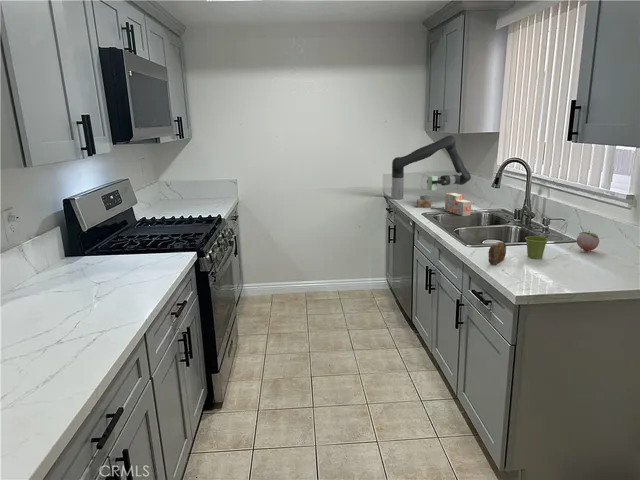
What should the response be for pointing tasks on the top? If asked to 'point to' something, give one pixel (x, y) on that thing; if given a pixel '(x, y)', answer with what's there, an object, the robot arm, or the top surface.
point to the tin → (497, 253)
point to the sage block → (429, 184)
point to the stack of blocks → (457, 204)
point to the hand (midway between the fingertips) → (429, 182)
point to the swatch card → (437, 207)
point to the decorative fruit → (587, 241)
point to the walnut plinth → (423, 203)
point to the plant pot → (535, 246)
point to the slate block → (425, 197)
